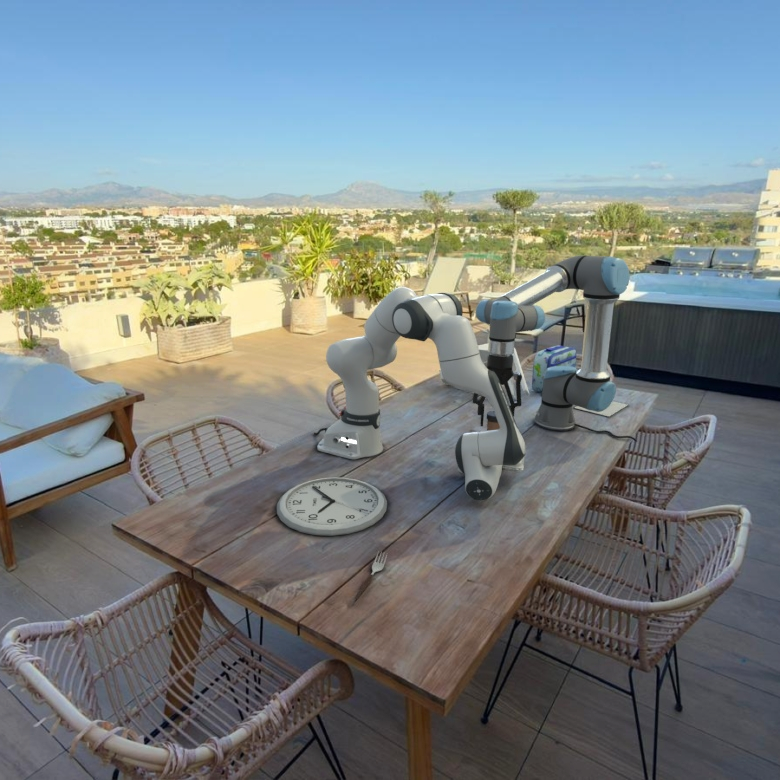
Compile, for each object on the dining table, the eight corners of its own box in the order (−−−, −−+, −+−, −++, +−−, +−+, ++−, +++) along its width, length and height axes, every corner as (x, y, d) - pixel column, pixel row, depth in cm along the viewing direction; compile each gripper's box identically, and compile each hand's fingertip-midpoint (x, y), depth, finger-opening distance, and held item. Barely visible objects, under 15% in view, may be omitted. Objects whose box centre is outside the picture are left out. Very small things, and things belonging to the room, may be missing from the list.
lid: (493, 422, 158) (494, 417, 158) (483, 417, 163) (483, 412, 162) (507, 420, 160) (508, 415, 160) (496, 414, 165) (497, 409, 165)
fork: (349, 601, 106) (348, 593, 105) (377, 557, 120) (377, 550, 120) (360, 605, 105) (360, 596, 105) (388, 560, 119) (388, 552, 119)
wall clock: (392, 527, 129) (268, 531, 127) (391, 533, 130) (269, 537, 127) (383, 473, 158) (282, 475, 155) (383, 478, 158) (282, 480, 156)
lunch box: (548, 398, 236) (553, 353, 229) (527, 393, 243) (531, 349, 237) (575, 387, 253) (581, 344, 247) (555, 382, 260) (560, 341, 254)
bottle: (484, 464, 169) (488, 412, 164) (499, 466, 168) (503, 414, 163) (483, 470, 165) (487, 417, 160) (498, 472, 164) (502, 419, 159)
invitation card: (608, 416, 214) (573, 407, 224) (608, 416, 214) (573, 408, 224) (628, 404, 229) (594, 396, 238) (628, 405, 229) (594, 397, 238)
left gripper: (524, 461, 149) (527, 443, 162) (453, 451, 155) (462, 434, 167) (522, 481, 151) (525, 462, 163) (452, 470, 157) (460, 453, 169)
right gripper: (533, 352, 158) (526, 423, 164) (466, 349, 160) (462, 419, 167) (536, 358, 151) (529, 432, 157) (466, 355, 153) (461, 427, 160)
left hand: (493, 448), depth 165 cm, fingers closed on bottle, 4 cm apart
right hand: (494, 425), depth 162 cm, fingers open, 7 cm apart
